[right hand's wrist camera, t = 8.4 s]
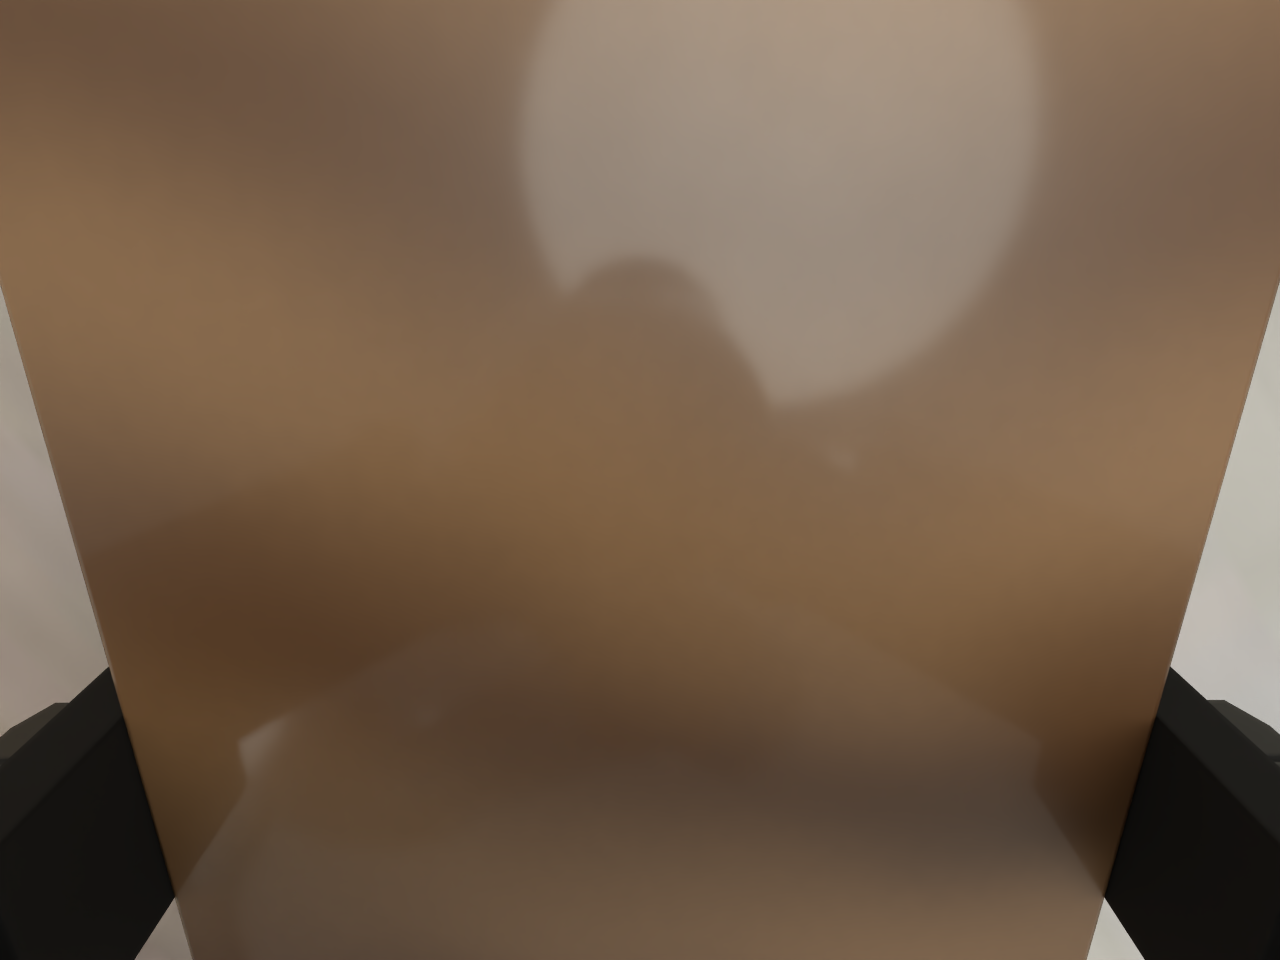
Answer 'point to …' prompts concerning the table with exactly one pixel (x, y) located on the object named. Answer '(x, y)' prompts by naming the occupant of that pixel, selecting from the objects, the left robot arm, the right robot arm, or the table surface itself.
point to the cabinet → (639, 449)
